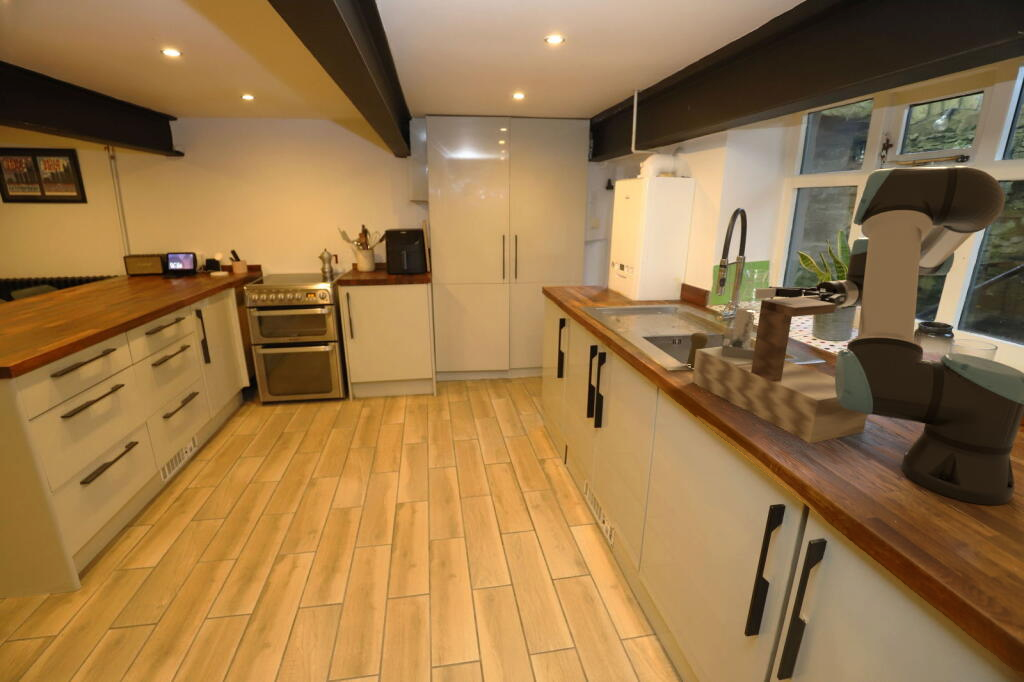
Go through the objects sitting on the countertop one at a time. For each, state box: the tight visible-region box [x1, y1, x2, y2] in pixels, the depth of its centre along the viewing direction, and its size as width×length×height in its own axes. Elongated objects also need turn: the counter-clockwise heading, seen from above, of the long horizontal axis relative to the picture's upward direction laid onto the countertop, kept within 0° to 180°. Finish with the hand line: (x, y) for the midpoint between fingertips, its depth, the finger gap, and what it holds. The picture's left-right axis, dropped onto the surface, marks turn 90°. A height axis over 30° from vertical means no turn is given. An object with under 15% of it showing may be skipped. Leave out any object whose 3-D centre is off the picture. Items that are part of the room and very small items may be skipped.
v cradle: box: [698, 338, 755, 366], centre depth 127 cm, size 14×14×3 cm
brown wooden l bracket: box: [751, 297, 837, 382], centre depth 110 cm, size 9×12×18 cm
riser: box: [692, 347, 868, 444], centre depth 120 cm, size 38×16×10 cm, turn 18°
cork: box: [686, 332, 709, 368], centre depth 147 cm, size 6×6×11 cm
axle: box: [731, 307, 756, 349], centre depth 127 cm, size 4×4×12 cm
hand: (776, 297), depth 127 cm, fingers open, 13 cm apart
